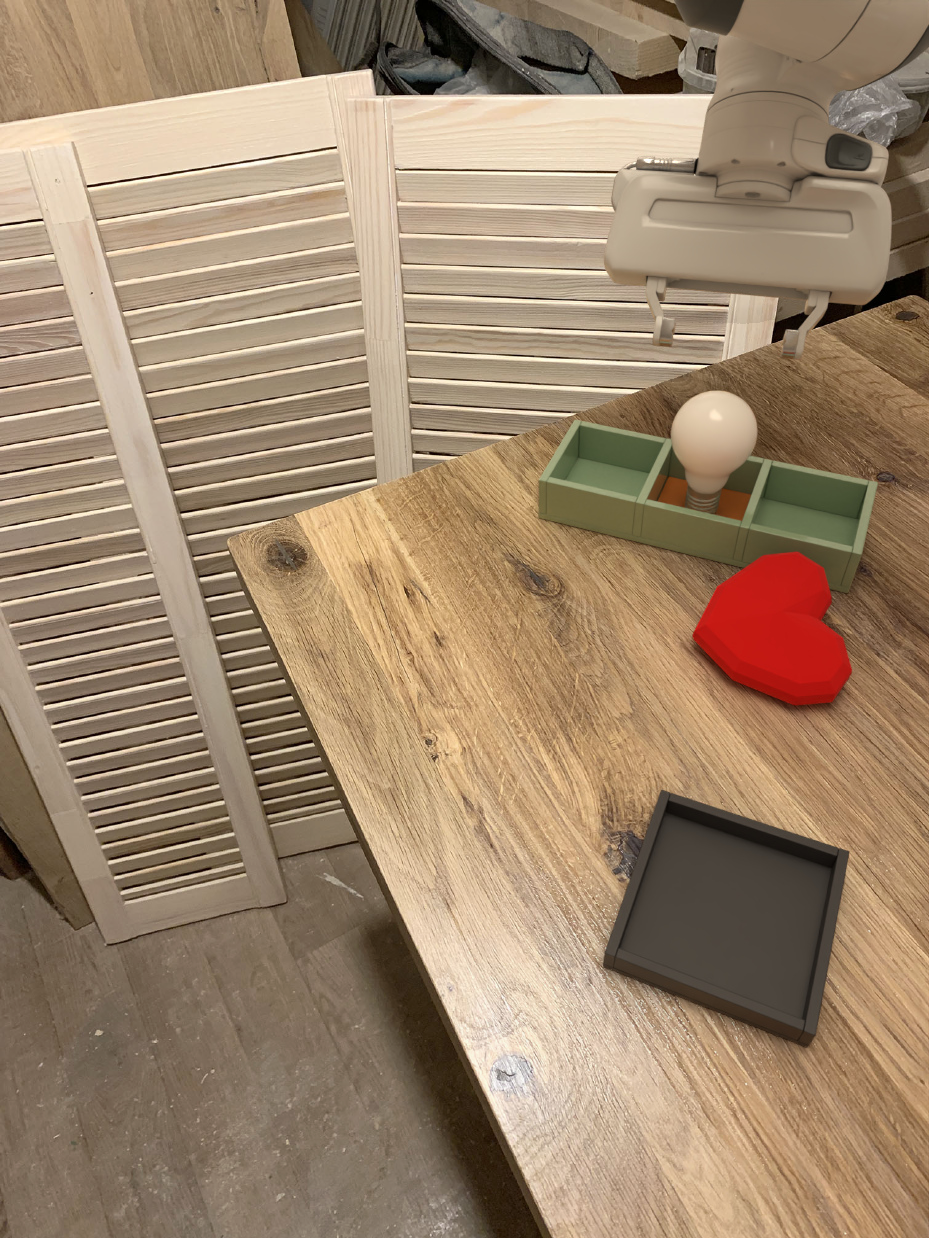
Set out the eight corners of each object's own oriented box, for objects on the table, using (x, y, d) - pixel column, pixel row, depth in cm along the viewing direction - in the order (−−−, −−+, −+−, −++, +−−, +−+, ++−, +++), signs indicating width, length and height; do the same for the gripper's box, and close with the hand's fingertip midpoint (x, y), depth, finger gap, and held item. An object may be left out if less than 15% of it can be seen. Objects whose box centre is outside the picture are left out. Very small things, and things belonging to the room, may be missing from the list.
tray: (841, 866, 55) (849, 850, 54) (807, 1048, 48) (815, 1035, 47) (658, 805, 59) (661, 788, 57) (602, 966, 52) (604, 952, 51)
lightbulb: (691, 477, 79) (709, 364, 71) (755, 509, 76) (781, 395, 68) (645, 514, 76) (658, 400, 68) (709, 549, 73) (731, 435, 65)
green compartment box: (864, 521, 75) (878, 481, 72) (848, 594, 70) (862, 554, 67) (573, 457, 83) (574, 419, 80) (538, 518, 78) (538, 479, 75)
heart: (703, 723, 65) (852, 711, 63) (706, 695, 61) (864, 681, 60) (679, 584, 71) (814, 570, 70) (681, 551, 68) (822, 535, 66)
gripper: (615, 135, 68) (584, 326, 69) (914, 151, 63) (875, 354, 64) (621, 173, 74) (592, 347, 75) (893, 189, 69) (859, 375, 70)
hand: (725, 351), depth 69 cm, fingers open, 8 cm apart
